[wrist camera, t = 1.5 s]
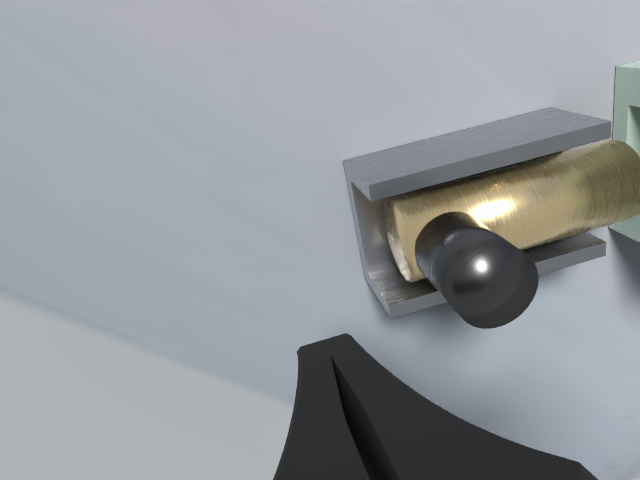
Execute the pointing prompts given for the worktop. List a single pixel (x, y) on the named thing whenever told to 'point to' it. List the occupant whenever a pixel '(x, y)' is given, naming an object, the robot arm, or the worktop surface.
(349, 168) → the grey u channel
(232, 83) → the worktop surface
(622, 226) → the socket
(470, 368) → the worktop surface
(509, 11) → the worktop surface
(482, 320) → the sliding bolt
